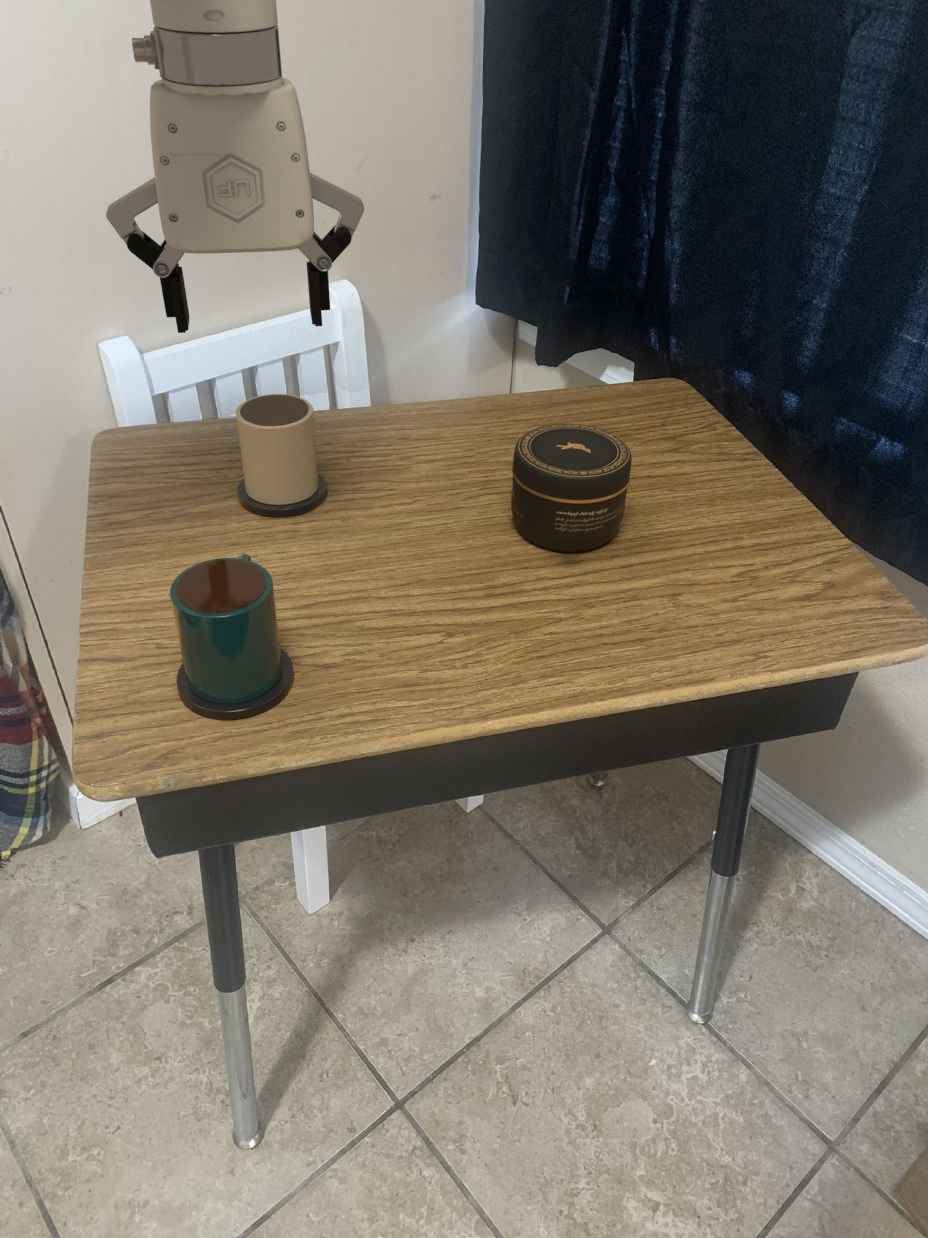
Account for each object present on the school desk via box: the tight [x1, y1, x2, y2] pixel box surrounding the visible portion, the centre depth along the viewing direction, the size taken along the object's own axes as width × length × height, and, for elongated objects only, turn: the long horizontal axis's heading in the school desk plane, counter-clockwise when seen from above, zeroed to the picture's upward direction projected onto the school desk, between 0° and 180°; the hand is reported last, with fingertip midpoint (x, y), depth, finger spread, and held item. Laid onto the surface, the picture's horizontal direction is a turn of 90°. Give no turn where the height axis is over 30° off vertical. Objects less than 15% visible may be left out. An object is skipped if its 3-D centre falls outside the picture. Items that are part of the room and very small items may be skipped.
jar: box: [510, 423, 633, 553], centre depth 84 cm, size 10×10×8 cm
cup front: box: [169, 553, 282, 704], centre depth 67 cm, size 9×7×8 cm
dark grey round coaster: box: [236, 472, 328, 518], centre depth 89 cm, size 8×8×1 cm
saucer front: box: [175, 647, 294, 721], centre depth 69 cm, size 8×8×1 cm
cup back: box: [235, 393, 319, 505], centre depth 87 cm, size 9×7×8 cm
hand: (250, 322), depth 72 cm, fingers open, 9 cm apart
